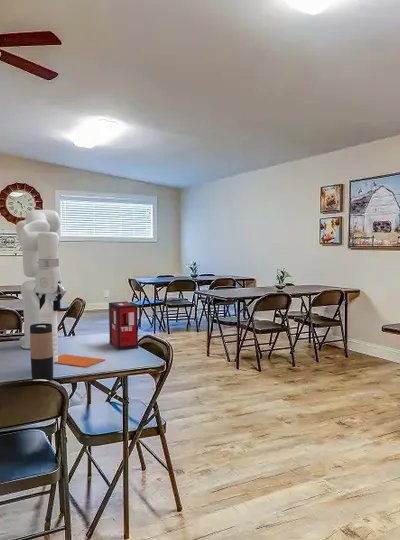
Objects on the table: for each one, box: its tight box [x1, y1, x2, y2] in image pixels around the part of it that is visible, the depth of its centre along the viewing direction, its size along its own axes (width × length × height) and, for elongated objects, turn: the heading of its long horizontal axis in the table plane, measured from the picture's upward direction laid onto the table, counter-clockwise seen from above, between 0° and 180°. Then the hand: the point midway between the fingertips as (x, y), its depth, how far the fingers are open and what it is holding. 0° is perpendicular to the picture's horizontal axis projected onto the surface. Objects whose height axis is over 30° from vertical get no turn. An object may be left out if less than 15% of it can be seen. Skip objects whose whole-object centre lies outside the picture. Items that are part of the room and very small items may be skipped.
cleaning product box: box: [108, 300, 139, 351], centre depth 222 cm, size 16×9×20 cm, turn 26°
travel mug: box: [29, 323, 54, 381], centre depth 167 cm, size 8×8×20 cm
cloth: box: [54, 354, 106, 368], centre depth 195 cm, size 22×12×1 cm, turn 64°
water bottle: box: [40, 296, 64, 364], centre depth 182 cm, size 9×6×25 cm
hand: (50, 309), depth 181 cm, fingers closed on water bottle, 6 cm apart
